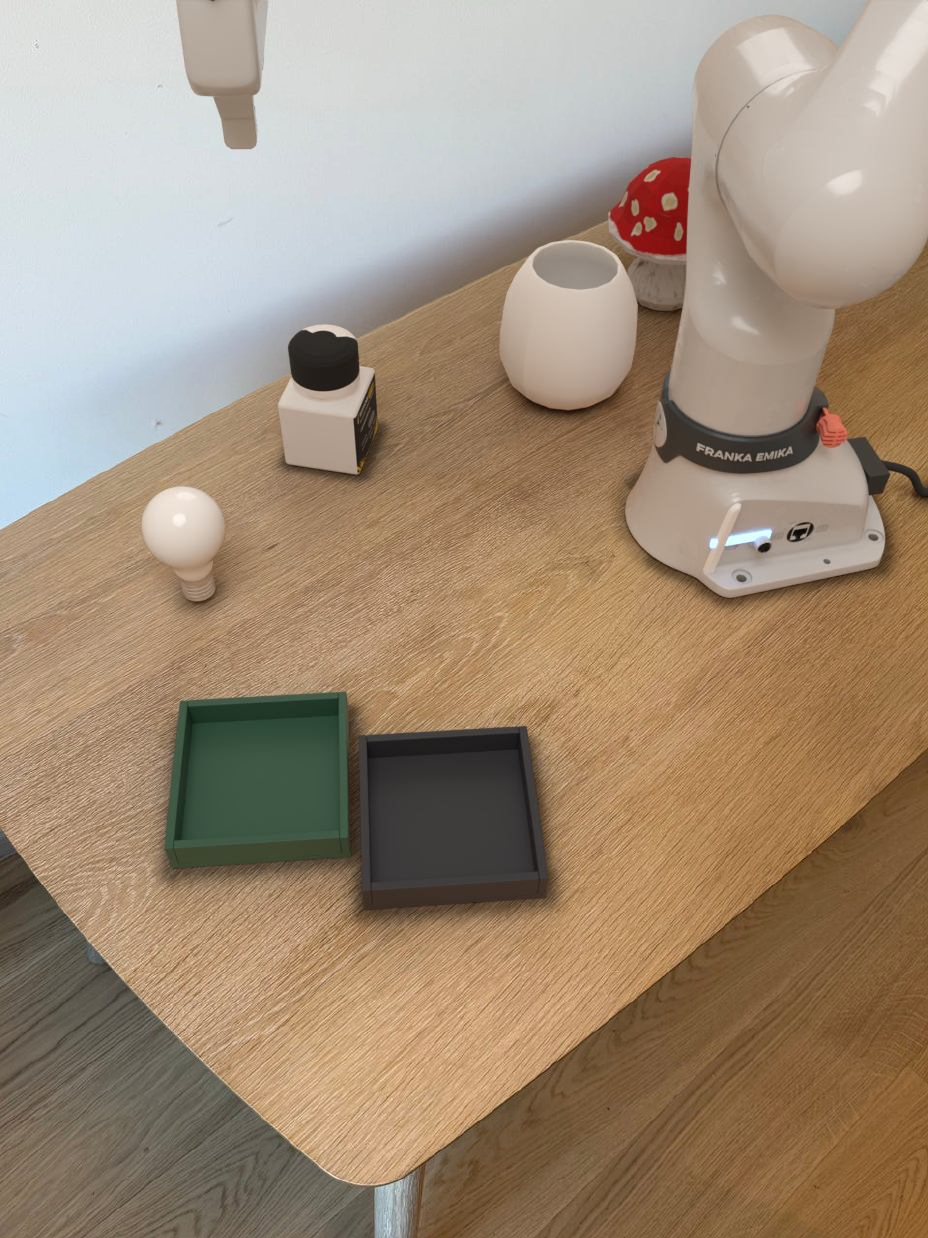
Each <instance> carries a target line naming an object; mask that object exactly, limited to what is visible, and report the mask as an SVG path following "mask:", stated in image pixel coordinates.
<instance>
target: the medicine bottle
mask: <svg viewBox="0 0 928 1238" xmlns="http://www.w3.org/2000/svg"><path fill="white" fill-rule="evenodd" d="M287 353H288V360H289V367H290V376H291V377H290V378H289V380H288V383H287V384H286V386H285V389H284V391H283V393H282V395H281V397H280V399H279V400H278V403H277V411H278V418H279V425H280V433H281V439H282V448H283V454H284V461H285V463H286V464H287V465H289V466H297V467H302V468H303V467H304V468H309V469H316V470H322V471H330V472H335V473H342V474H349V475H356V476H358V475H360V473H361V472H362V469H363V467H364V464H365V461H366V459H367V456H368V453H369V451H370V448H371V446H372V443H373V442H374V441H373V440H374V439H375V436H376V433H377V430H378V428H379V426H378V425H379V423H378V422H379V421H378V407H377V406H378V404H377V387H376V371H375V368H372V367H369V366H361V365H360V355H359V354H360V353H359V343H358V339H357V338H356V336H355V335H354V334H352V333H351V331H349V330H347V329H346V328H343V327H341V326H338V325H334V324H315V325H311V326H307V327H304V328H302V329H301V330H299V331H298V332H297V333H295V334H294V335H293V336H292V338H291V339H290V341H288V346H287Z"/></svg>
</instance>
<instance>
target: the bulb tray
mask: <svg viewBox="0 0 928 1238" xmlns="http://www.w3.org/2000/svg"><path fill="white" fill-rule="evenodd" d="M347 694H348V693H347V691H329V692H312V693H310V692H309V693H293V694H277V695H276V694H275V695H258V696H241V697H240V696H238V697H220V698H204V699H203V698H202V699H188V700H187V699H186V700H185V699H184V700H179V707H178V715H177V725H176V734H175V741H174V743H175V744H174V752H173V754H174V755H173V760H172V761H173V762H172V771H171V779H170V781H171V782H170V791H169V799H168V800H169V801H168V808H167V809H168V810H167V819H166V827H165V838H164V848H163V849H164V852H165V854H166V857H167V859H168V862H169V864H170V867H171V869H186V868H202V867H216V866H217V867H218V866H229V865H230V866H231V865H232V866H233V865H247V864H248V865H249V864H264V863H278V862H280V863H281V862H292V861H293V862H295V861H308V860H321V859H322V860H325V859H326V860H327V859H339V858H342V859H343V858H351V857H352V833H351V831H352V830H351V829H352V826H351V824H352V823H351V822H352V821H351V820H352V819H351V768H350V767H351V765H350V764H351V762H350V761H351V760H350V713H349V712H350V711H349V703H348V702H349V701H348V695H347Z"/></svg>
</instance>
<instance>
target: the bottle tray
mask: <svg viewBox="0 0 928 1238" xmlns="http://www.w3.org/2000/svg"><path fill="white" fill-rule="evenodd" d="M528 732H529V731H528V726H527V725H519V726H517V725H515V726H502V727H501V726H500V727H482V728H481V727H479V728H465V729H447V730H432V731H431V730H430V731H429V730H428V731H413V732H396V733H394V732H393V733H376V734H360V735H358V737H357V740H358V781H359V783H358V784H359V821H360V823H359V826H360V828H359V829H360V832H359V833H360V868H361V870H360V872H361V873H360V874H361V875H360V876H361V895H362V903H363V904H362V905H363V911H370V910H371V911H373V910H387V909H401V908H415V907H416V908H417V907H429V906H430V907H431V906H443V905H445V906H446V905H459V904H476V903H488V902H501V901H502V902H505V901H518V900H534V899H545V898H547V890H548V883H549V873H548V865H547V857H546V851H545V844H544V837H543V829H542V823H541V815H540V809H539V801H538V795H537V788H536V781H535V774H534V767H533V760H532V753H531V746H530V738H529V733H528Z"/></svg>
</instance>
